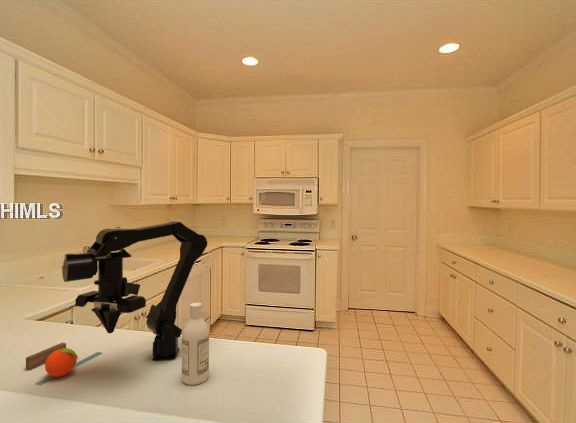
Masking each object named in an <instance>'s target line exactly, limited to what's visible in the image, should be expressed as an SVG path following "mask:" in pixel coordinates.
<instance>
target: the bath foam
mask: <svg viewBox="0 0 576 423" xmlns="http://www.w3.org/2000/svg"><path fill="white" fill-rule="evenodd" d="M202 306H203V305H202V303H201V302H193V303H191V304H189V319H188V320H187V322H186V324H185V325H184V327H183V329H182V332H181V380H182V382H183V384H185V385H188V386H195V385H199V384H202V383H203V382H205V381H206V380H207V379H208V378H209V374H210V368H209V367H210V365H209V364H210V331H209V326H208V324H207V322H206V321H205V320H204V318H203V317H202Z"/></svg>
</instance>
